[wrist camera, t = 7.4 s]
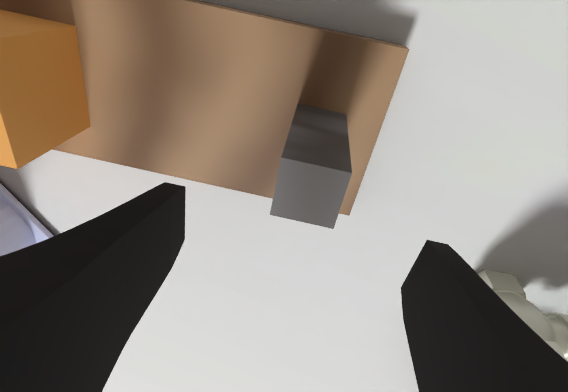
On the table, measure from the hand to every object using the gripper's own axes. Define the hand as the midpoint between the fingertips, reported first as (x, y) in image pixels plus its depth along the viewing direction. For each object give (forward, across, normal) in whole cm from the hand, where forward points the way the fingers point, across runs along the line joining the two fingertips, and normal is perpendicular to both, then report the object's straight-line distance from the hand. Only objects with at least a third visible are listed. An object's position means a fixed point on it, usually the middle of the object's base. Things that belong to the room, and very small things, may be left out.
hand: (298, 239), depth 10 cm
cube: (+8, +14, 0) cm, 17 cm away
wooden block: (+9, +9, 0) cm, 13 cm away
